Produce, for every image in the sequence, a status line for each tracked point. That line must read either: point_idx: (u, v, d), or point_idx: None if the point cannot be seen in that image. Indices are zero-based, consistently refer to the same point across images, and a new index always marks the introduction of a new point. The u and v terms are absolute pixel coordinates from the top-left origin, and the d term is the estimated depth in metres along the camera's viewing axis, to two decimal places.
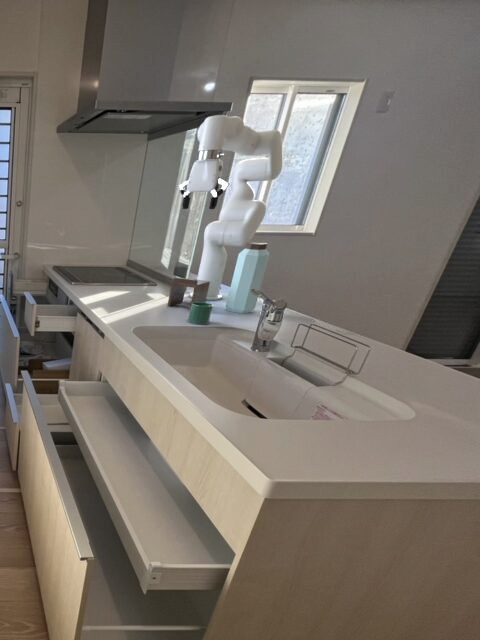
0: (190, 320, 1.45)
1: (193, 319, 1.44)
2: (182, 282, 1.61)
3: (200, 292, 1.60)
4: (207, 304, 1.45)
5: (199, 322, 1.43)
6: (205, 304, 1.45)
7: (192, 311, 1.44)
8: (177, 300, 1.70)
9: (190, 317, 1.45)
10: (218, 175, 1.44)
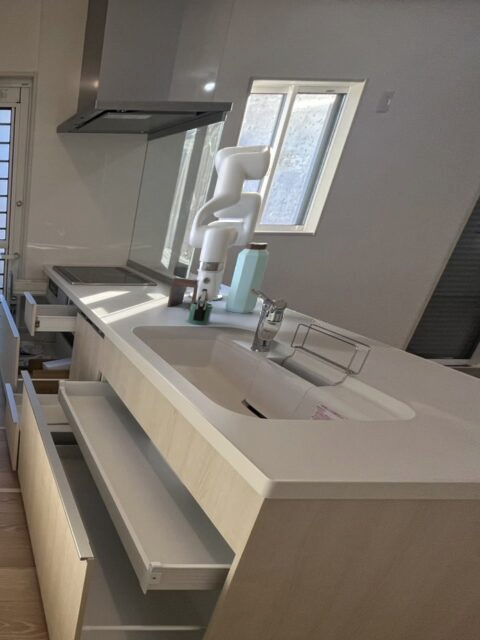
0: (190, 320, 1.45)
1: None
2: (182, 282, 1.61)
3: None
4: (207, 304, 1.45)
5: (199, 322, 1.43)
6: None
7: (192, 311, 1.44)
8: (177, 300, 1.70)
9: (190, 317, 1.45)
10: (203, 287, 1.37)
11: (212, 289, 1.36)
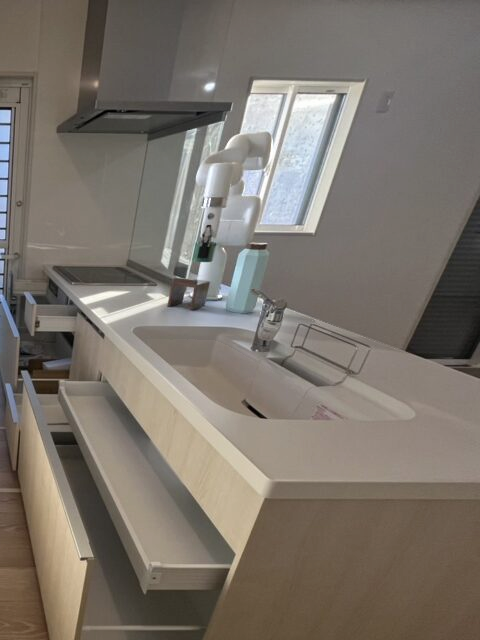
0: (194, 259, 1.49)
1: (197, 257, 1.47)
2: (182, 282, 1.61)
3: (200, 292, 1.60)
4: (211, 242, 1.48)
5: (203, 260, 1.47)
6: None
7: (196, 249, 1.47)
8: (177, 300, 1.70)
9: (194, 256, 1.49)
10: (207, 223, 1.40)
11: (216, 224, 1.39)
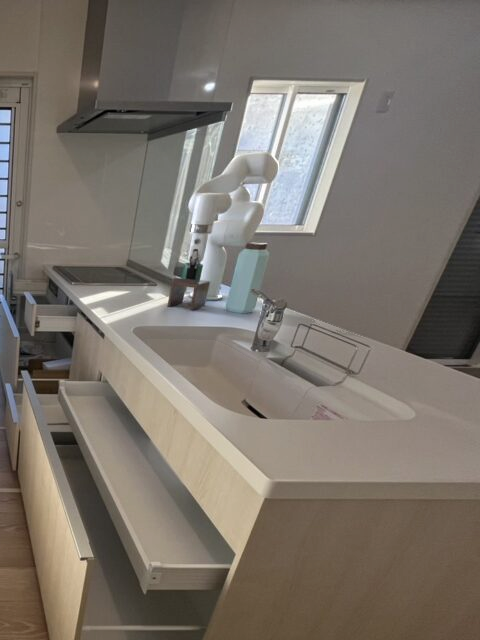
0: None
1: None
2: (182, 282, 1.61)
3: (200, 292, 1.60)
4: (198, 264, 1.61)
5: None
6: None
7: (185, 270, 1.61)
8: (177, 300, 1.70)
9: (183, 276, 1.62)
10: (194, 247, 1.54)
11: (202, 249, 1.53)
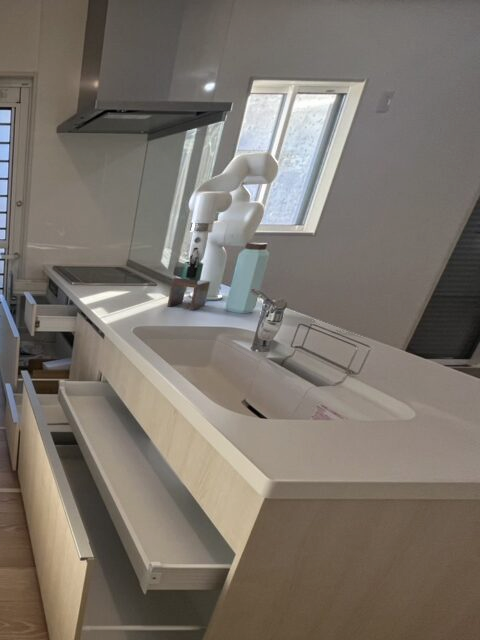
0: (183, 278, 1.62)
1: None
2: (182, 282, 1.61)
3: (200, 292, 1.60)
4: (198, 263, 1.61)
5: (191, 279, 1.60)
6: (197, 263, 1.62)
7: (185, 269, 1.61)
8: (177, 300, 1.70)
9: (183, 275, 1.62)
10: (194, 246, 1.54)
11: (202, 248, 1.53)
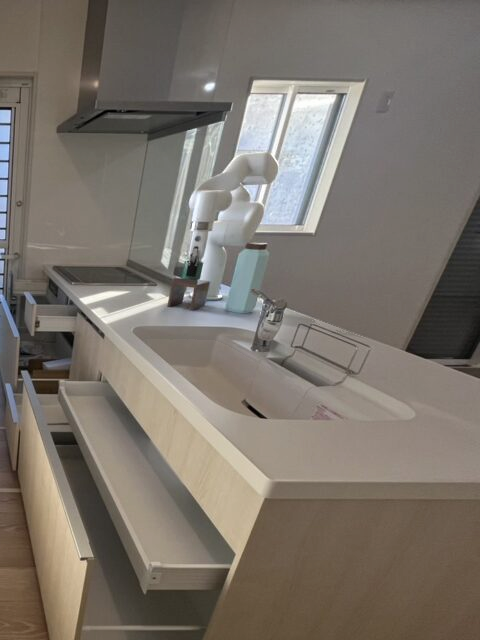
0: (183, 276, 1.62)
1: None
2: (182, 282, 1.61)
3: (200, 292, 1.60)
4: (199, 262, 1.61)
5: (191, 278, 1.59)
6: (197, 262, 1.62)
7: (185, 268, 1.60)
8: (177, 300, 1.70)
9: (183, 274, 1.61)
10: (194, 245, 1.54)
11: (203, 246, 1.52)
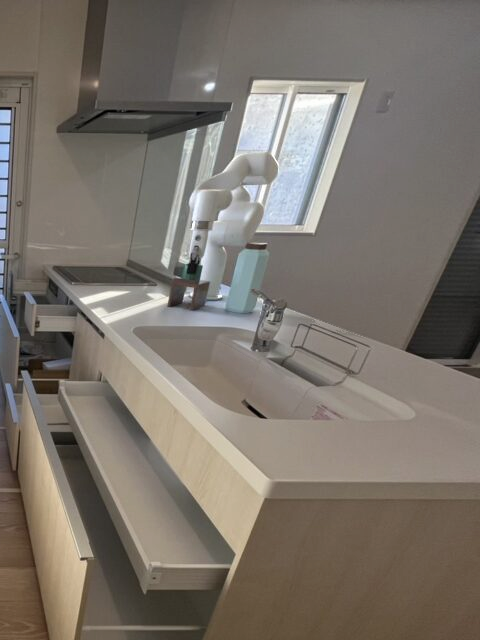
0: None
1: (185, 278, 1.61)
2: (182, 282, 1.61)
3: (200, 292, 1.60)
4: (198, 265, 1.62)
5: None
6: None
7: (184, 271, 1.61)
8: (177, 300, 1.70)
9: (183, 277, 1.62)
10: (194, 244, 1.53)
11: (203, 245, 1.52)
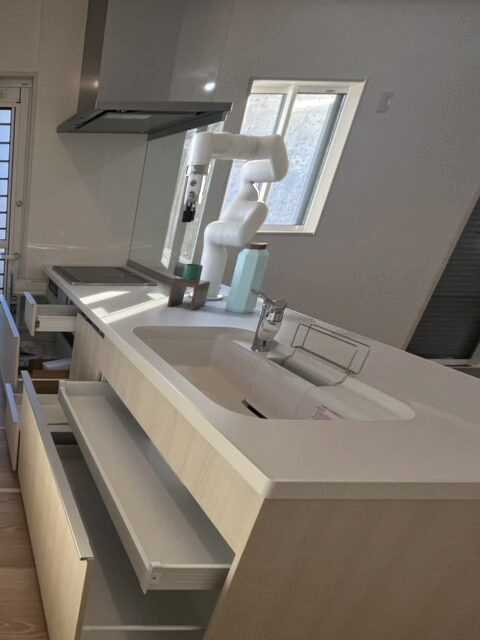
0: None
1: (185, 278, 1.61)
2: (182, 282, 1.61)
3: (200, 292, 1.60)
4: (198, 265, 1.62)
5: None
6: (196, 265, 1.62)
7: (184, 271, 1.61)
8: (177, 300, 1.70)
9: (183, 277, 1.62)
10: (190, 189, 1.49)
11: (198, 191, 1.48)
